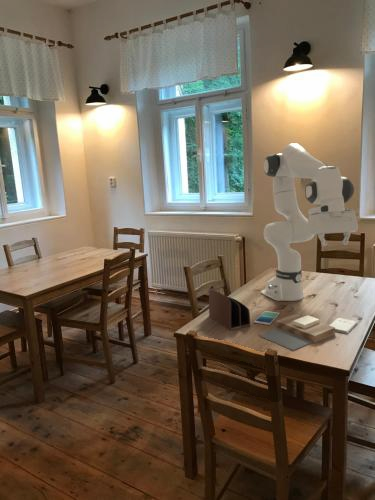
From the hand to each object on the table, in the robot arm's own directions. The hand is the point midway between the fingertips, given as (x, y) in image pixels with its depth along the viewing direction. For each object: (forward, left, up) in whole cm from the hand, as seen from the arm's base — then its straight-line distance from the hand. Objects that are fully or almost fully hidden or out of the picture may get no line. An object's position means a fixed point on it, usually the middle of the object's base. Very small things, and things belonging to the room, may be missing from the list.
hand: (335, 245), depth 152 cm
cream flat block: (-10, -3, -33) cm, 35 cm away
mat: (-10, -16, -36) cm, 41 cm away
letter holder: (-39, -20, -37) cm, 58 cm away
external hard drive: (-3, +10, -37) cm, 39 cm away
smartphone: (-30, -5, -37) cm, 48 cm away
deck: (-10, -5, -36) cm, 38 cm away
